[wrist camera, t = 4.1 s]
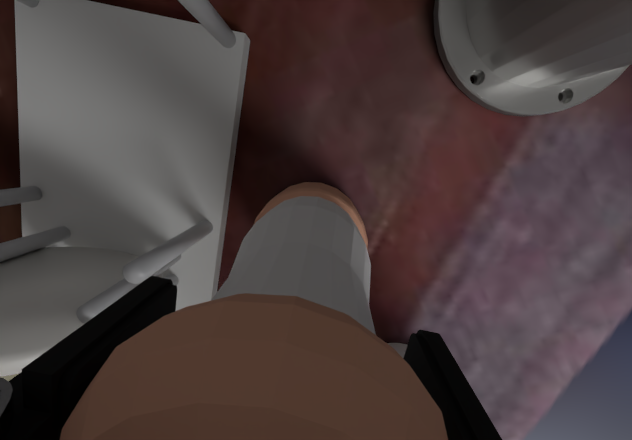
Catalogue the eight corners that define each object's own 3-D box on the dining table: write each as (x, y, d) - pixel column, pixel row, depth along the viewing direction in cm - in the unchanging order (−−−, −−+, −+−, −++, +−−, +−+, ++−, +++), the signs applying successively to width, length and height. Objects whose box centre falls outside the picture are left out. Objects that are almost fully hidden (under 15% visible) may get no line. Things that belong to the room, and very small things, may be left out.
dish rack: (250, 40, 19) (122, -144, 7) (213, 315, 24) (98, 484, 12) (33, -5, 19) (-470, -271, 7) (38, 281, 24) (-260, 416, 12)
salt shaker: (288, 292, 23) (105, 945, 4) (243, 207, 21) (-342, 618, 3) (377, 256, 22) (663, 898, 3) (337, 164, 20) (421, 344, 2)
